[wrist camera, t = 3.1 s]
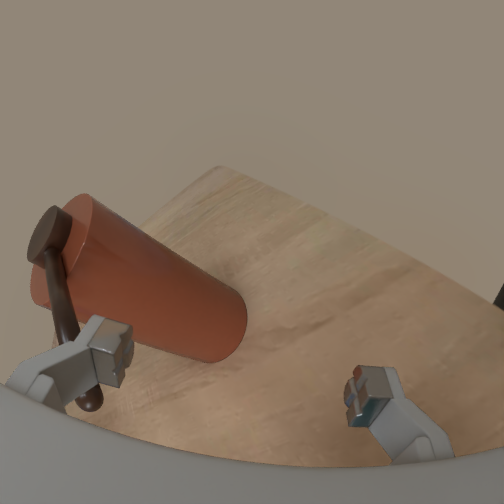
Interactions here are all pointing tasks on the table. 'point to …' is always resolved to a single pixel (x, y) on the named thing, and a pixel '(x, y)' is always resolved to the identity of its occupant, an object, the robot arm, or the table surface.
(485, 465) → the robot arm
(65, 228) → the brown disc-ended rod
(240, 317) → the canister
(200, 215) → the table surface
